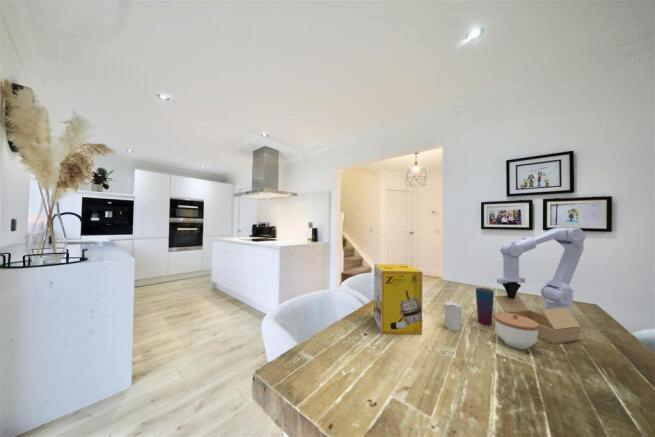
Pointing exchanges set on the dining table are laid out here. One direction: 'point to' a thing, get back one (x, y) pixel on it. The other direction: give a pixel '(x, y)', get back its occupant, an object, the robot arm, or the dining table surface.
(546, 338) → the carton
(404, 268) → the packaging box
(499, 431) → the dining table surface
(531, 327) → the lidded bowl
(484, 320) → the cup
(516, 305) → the flap
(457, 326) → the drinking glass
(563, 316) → the flap
